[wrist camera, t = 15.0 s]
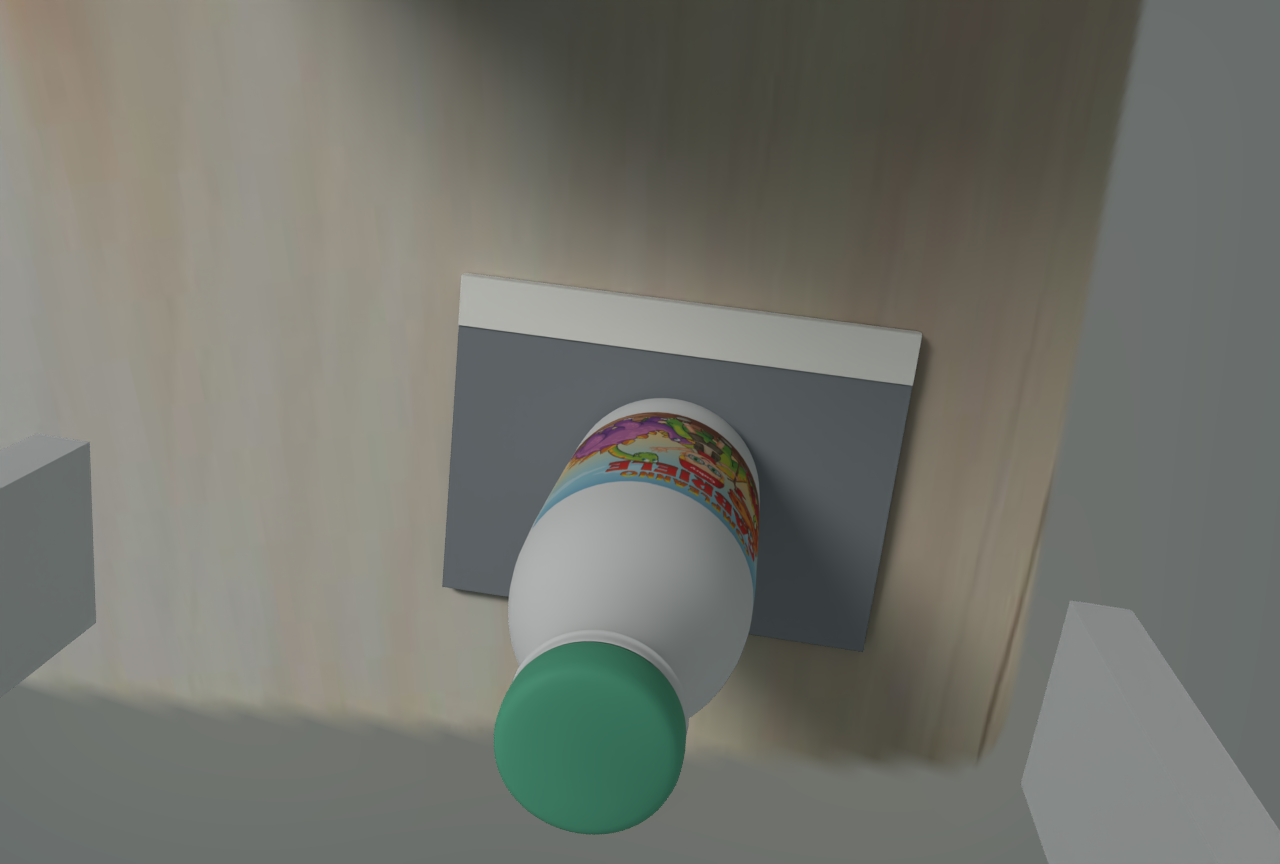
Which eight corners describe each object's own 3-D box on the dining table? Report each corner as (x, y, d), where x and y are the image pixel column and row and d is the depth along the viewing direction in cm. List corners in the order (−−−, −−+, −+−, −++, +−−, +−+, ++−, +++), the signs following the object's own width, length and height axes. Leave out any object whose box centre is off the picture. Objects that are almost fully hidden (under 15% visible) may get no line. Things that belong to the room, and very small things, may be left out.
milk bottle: (726, 596, 46) (692, 937, 27) (550, 540, 46) (393, 838, 27) (786, 427, 44) (794, 669, 25) (600, 368, 44) (467, 563, 25)
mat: (446, 581, 48) (441, 587, 48) (466, 272, 44) (461, 275, 44) (862, 645, 47) (863, 652, 46) (920, 331, 43) (922, 335, 42)
